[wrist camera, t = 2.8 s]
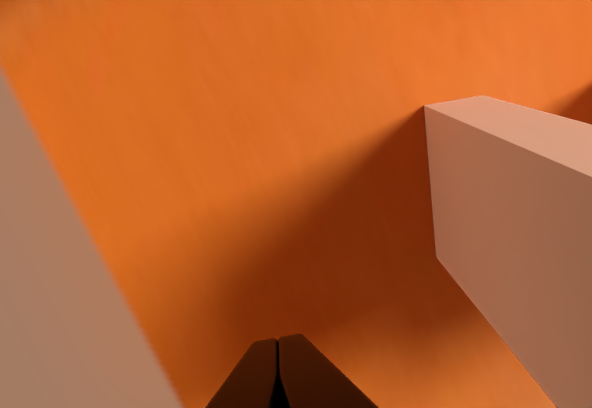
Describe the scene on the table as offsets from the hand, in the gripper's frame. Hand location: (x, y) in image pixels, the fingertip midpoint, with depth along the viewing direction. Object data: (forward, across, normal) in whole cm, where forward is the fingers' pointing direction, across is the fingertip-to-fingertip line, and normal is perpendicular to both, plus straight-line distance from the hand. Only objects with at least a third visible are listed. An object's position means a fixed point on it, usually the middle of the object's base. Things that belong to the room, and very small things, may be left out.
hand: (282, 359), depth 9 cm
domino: (+8, -6, 0) cm, 10 cm away
